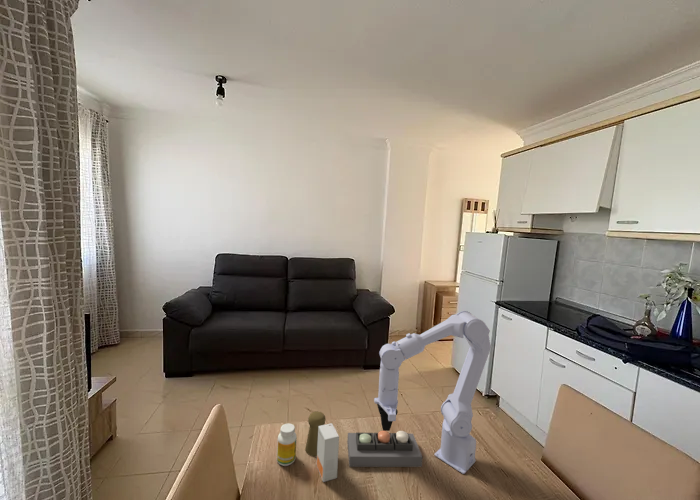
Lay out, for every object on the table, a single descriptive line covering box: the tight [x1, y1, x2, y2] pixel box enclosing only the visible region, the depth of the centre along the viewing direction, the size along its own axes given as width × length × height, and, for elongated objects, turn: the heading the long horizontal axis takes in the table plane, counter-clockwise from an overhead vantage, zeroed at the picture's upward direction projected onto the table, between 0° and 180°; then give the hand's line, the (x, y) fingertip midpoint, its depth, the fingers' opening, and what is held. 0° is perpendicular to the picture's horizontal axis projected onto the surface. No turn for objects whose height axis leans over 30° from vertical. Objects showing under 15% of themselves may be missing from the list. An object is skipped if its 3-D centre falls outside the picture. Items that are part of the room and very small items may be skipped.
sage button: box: [359, 434, 371, 443], centre depth 90 cm, size 4×4×2 cm
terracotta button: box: [377, 430, 390, 444], centre depth 91 cm, size 4×4×2 cm
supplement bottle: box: [276, 422, 298, 467], centre depth 86 cm, size 5×5×10 cm
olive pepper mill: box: [304, 410, 326, 457], centre depth 91 cm, size 6×6×11 cm
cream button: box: [395, 430, 409, 444], centre depth 91 cm, size 4×4×2 cm
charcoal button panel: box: [346, 432, 423, 468], centre depth 91 cm, size 21×10×5 cm, turn 94°
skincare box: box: [315, 422, 340, 483], centre depth 82 cm, size 6×4×12 cm
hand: (385, 429), depth 90 cm, fingers closed
